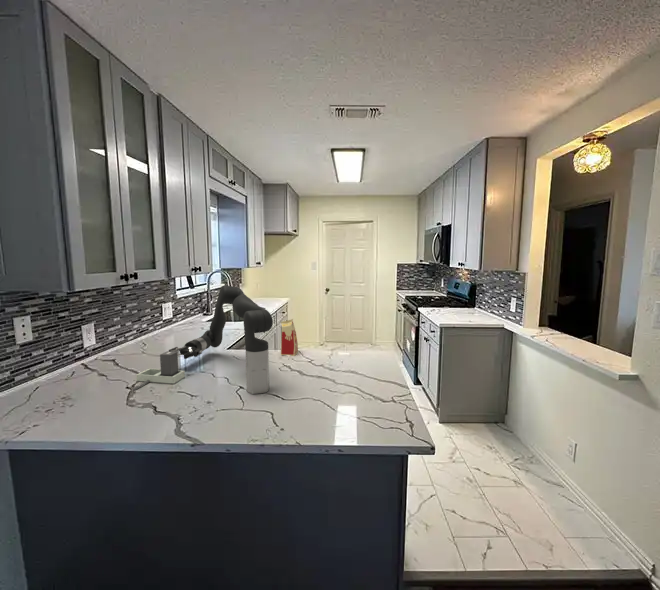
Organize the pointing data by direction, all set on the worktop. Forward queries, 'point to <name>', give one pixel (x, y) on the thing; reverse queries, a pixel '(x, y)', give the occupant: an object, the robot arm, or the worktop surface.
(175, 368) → the block
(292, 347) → the milk carton
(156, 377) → the two-compartment tray
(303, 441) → the worktop surface
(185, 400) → the worktop surface
